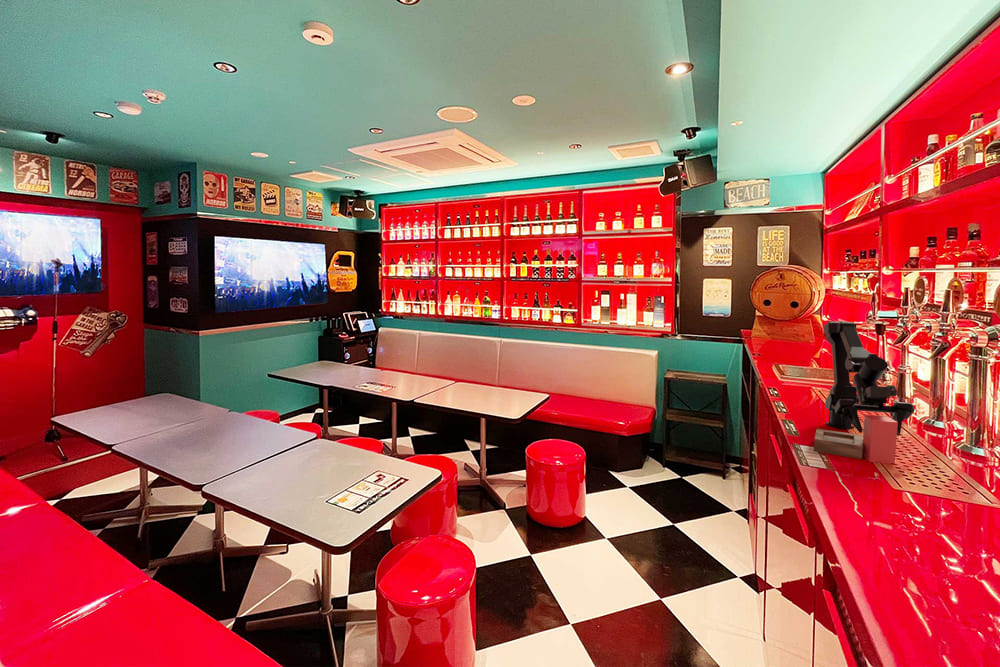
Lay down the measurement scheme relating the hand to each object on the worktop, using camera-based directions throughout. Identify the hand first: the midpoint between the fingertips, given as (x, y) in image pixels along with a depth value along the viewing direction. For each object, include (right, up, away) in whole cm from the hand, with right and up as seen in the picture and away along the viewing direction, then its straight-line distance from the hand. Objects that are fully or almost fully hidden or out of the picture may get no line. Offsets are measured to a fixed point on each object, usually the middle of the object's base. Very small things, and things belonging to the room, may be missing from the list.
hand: (879, 433), depth 139 cm
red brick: (0, -8, +1) cm, 8 cm away
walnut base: (-6, -7, +9) cm, 13 cm away
